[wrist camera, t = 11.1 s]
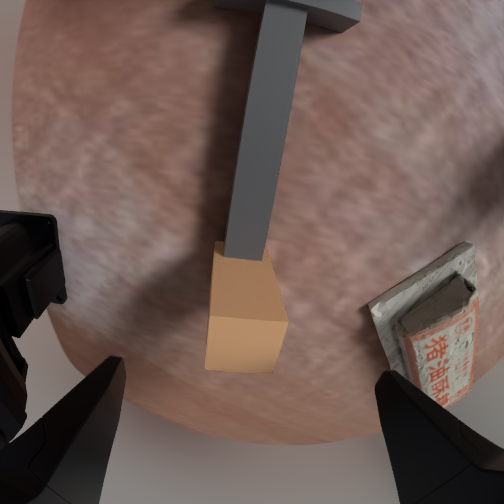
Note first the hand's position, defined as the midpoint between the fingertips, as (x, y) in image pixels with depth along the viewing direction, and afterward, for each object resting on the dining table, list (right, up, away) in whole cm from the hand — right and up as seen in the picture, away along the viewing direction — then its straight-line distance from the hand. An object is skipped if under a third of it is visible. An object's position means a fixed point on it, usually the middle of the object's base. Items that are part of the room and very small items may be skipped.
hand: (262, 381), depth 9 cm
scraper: (0, +10, +6) cm, 11 cm away
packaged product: (+17, -4, +15) cm, 22 cm away
